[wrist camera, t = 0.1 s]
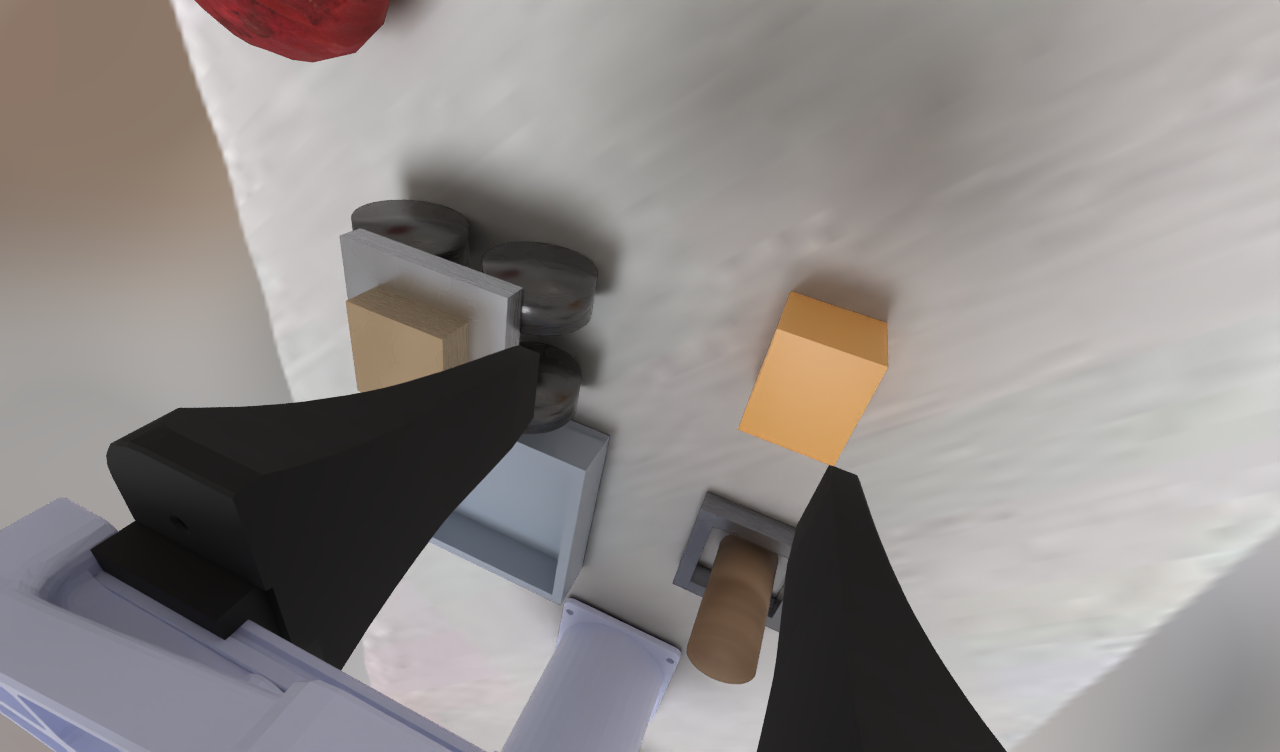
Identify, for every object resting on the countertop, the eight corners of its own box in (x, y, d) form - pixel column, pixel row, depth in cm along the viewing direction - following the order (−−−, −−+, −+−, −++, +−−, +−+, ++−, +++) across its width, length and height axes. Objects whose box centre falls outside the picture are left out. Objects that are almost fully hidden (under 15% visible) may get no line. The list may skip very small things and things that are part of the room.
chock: (839, 413, 22) (833, 466, 20) (755, 382, 23) (738, 429, 20) (886, 321, 20) (888, 367, 17) (791, 290, 21) (777, 328, 18)
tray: (581, 568, 34) (560, 605, 31) (430, 497, 36) (400, 528, 33) (609, 435, 27) (585, 471, 25) (424, 360, 29) (387, 386, 27)
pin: (766, 584, 29) (743, 693, 24) (712, 560, 29) (679, 662, 24) (786, 549, 27) (765, 658, 22) (728, 524, 27) (696, 626, 23)
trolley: (591, 395, 26) (515, 488, 21) (412, 324, 28) (299, 391, 23) (615, 262, 22) (528, 334, 17) (404, 190, 24) (265, 232, 19)
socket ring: (785, 614, 29) (782, 633, 28) (678, 566, 30) (672, 583, 29) (829, 542, 26) (827, 561, 25) (707, 491, 27) (701, 508, 26)
